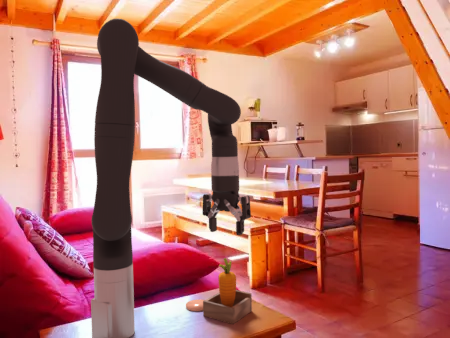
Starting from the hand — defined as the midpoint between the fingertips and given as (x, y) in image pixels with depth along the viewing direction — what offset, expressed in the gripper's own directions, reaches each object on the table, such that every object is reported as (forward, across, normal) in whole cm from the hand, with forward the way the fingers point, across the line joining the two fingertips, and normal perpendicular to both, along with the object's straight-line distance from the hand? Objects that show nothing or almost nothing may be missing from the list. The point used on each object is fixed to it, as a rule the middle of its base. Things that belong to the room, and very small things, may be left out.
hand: (226, 233), depth 103 cm
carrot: (+22, 0, 0) cm, 22 cm away
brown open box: (+22, 0, 0) cm, 22 cm away
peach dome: (+22, -10, 0) cm, 24 cm away
